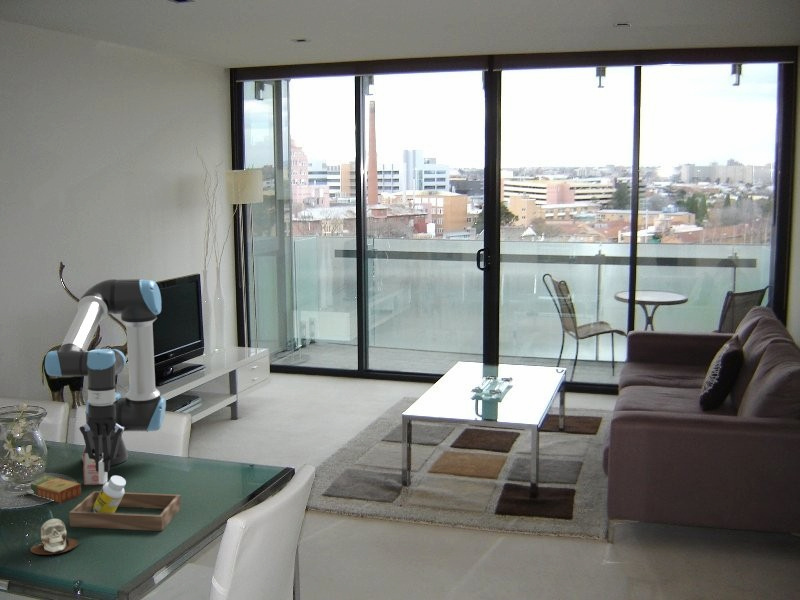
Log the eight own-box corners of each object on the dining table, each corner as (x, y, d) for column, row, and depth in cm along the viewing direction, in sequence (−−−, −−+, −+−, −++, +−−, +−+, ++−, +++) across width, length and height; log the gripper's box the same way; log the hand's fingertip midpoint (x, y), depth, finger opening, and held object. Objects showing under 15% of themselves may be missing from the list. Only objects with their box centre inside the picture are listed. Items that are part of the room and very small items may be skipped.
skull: (84, 548, 232) (55, 525, 228) (54, 577, 230) (24, 555, 226) (80, 529, 243) (52, 507, 239) (51, 557, 241) (23, 535, 237)
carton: (59, 504, 265) (59, 491, 265) (25, 494, 273) (24, 481, 273) (81, 496, 273) (81, 482, 272) (47, 486, 280) (46, 473, 280)
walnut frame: (94, 504, 265) (93, 491, 265) (181, 508, 263) (180, 494, 263) (69, 526, 248) (69, 512, 248) (162, 530, 247) (161, 516, 246)
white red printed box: (86, 481, 285) (85, 451, 283) (107, 480, 286) (106, 451, 284) (84, 485, 281) (82, 455, 280) (105, 484, 282) (104, 454, 281)
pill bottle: (92, 502, 257) (107, 471, 254) (113, 506, 260) (128, 476, 257) (92, 516, 252) (107, 484, 249) (114, 520, 255) (129, 489, 252)
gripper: (74, 405, 248) (75, 485, 250) (118, 406, 247) (119, 487, 249) (85, 399, 255) (87, 477, 258) (128, 401, 254) (129, 479, 257)
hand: (103, 482), depth 254 cm, fingers closed
